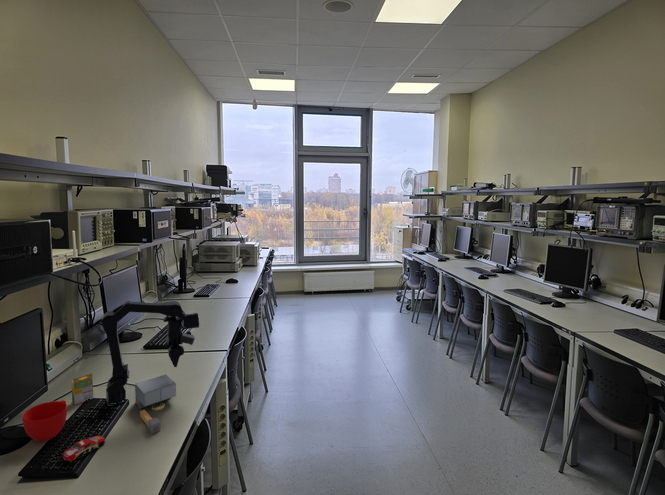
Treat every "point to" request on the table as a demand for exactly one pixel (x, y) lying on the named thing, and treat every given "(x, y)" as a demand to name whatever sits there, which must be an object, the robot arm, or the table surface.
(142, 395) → the cabinet
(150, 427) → the gray mallet
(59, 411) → the red spouted bowl
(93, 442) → the race car
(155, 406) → the disc
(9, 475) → the table surface
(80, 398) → the crayon box
